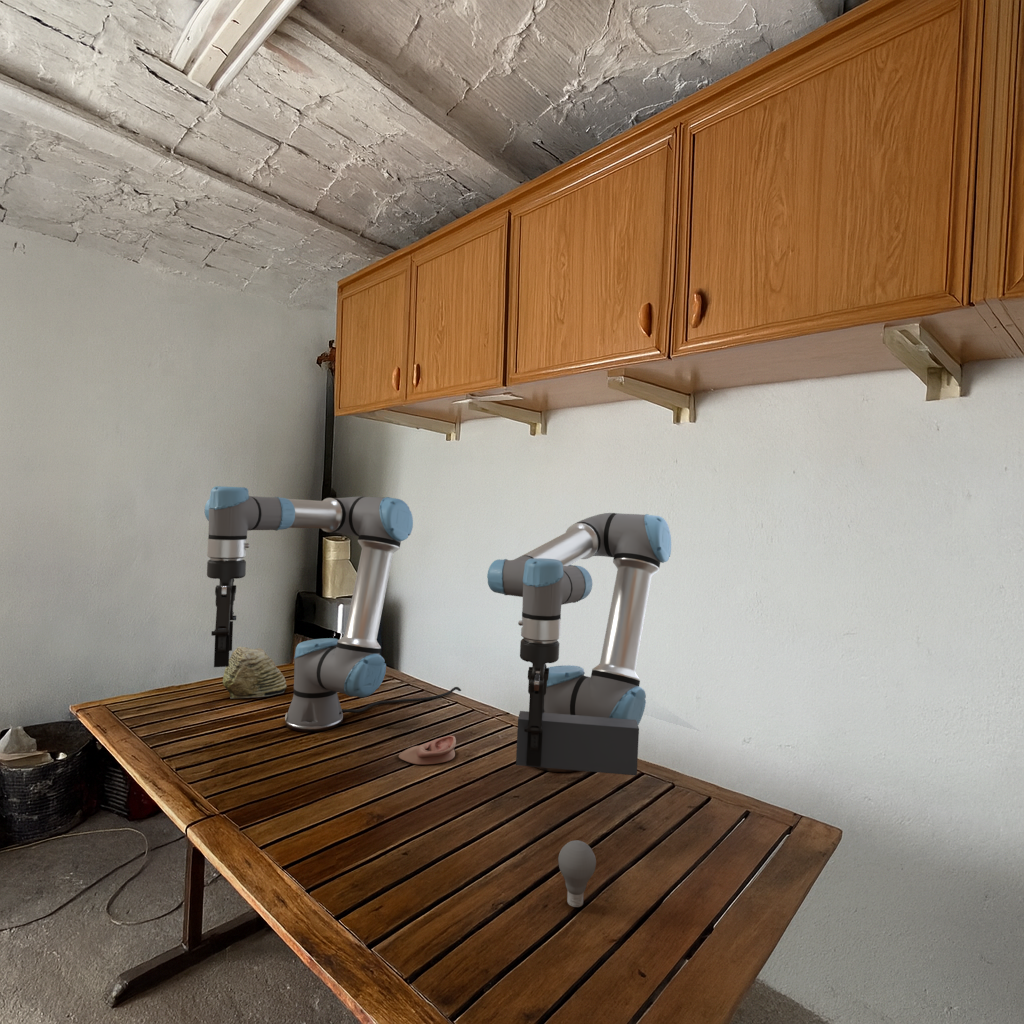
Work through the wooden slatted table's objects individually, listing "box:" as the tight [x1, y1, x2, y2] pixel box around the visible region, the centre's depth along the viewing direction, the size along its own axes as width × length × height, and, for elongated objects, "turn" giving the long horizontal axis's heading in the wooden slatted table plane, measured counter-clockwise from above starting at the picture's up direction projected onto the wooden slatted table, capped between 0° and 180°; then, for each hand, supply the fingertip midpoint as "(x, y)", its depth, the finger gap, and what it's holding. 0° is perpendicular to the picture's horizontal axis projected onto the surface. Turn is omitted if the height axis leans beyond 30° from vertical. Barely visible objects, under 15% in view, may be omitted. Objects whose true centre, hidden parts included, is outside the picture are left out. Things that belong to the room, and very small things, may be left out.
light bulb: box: [557, 839, 597, 908], centre depth 101 cm, size 6×6×10 cm
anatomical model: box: [398, 735, 457, 766], centre depth 157 cm, size 13×4×12 cm
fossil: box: [222, 646, 288, 699], centre depth 198 cm, size 9×18×15 cm, turn 132°
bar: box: [515, 710, 640, 776], centre depth 121 cm, size 23×5×9 cm, turn 85°
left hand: (223, 658), depth 135 cm, fingers open, 13 cm apart
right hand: (534, 759), depth 122 cm, fingers closed on bar, 5 cm apart
